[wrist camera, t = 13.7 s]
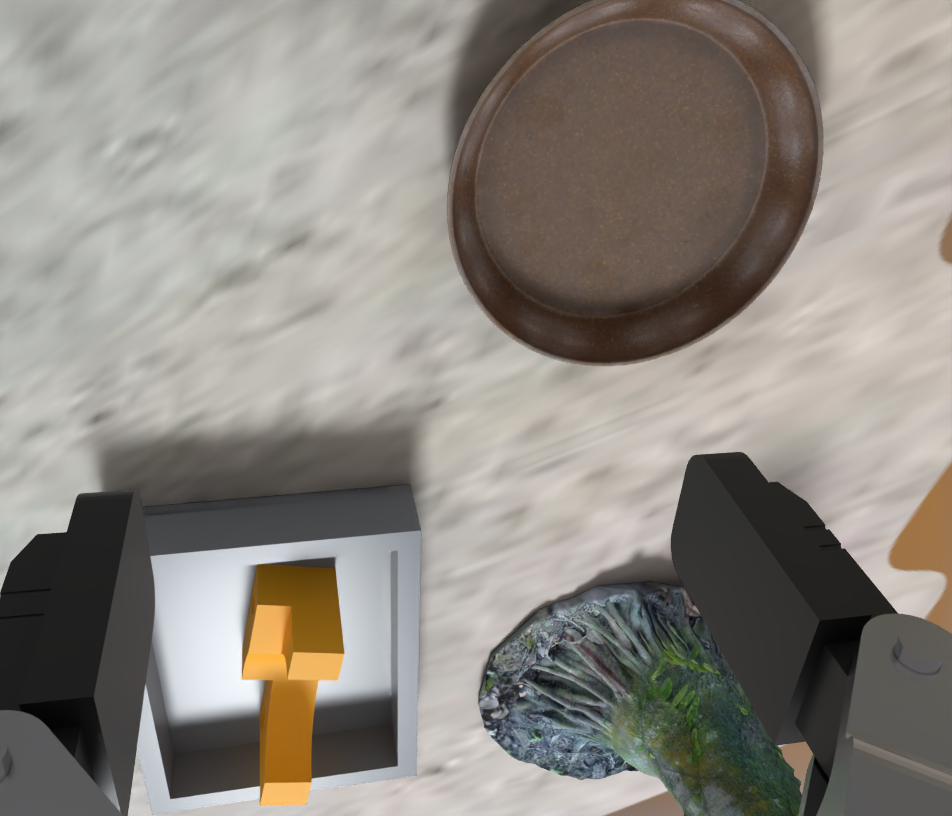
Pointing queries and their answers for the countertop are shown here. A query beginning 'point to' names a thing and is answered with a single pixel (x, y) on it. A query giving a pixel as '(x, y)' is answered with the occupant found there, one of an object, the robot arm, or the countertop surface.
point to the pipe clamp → (290, 669)
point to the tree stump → (635, 702)
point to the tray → (223, 628)
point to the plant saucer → (635, 177)
